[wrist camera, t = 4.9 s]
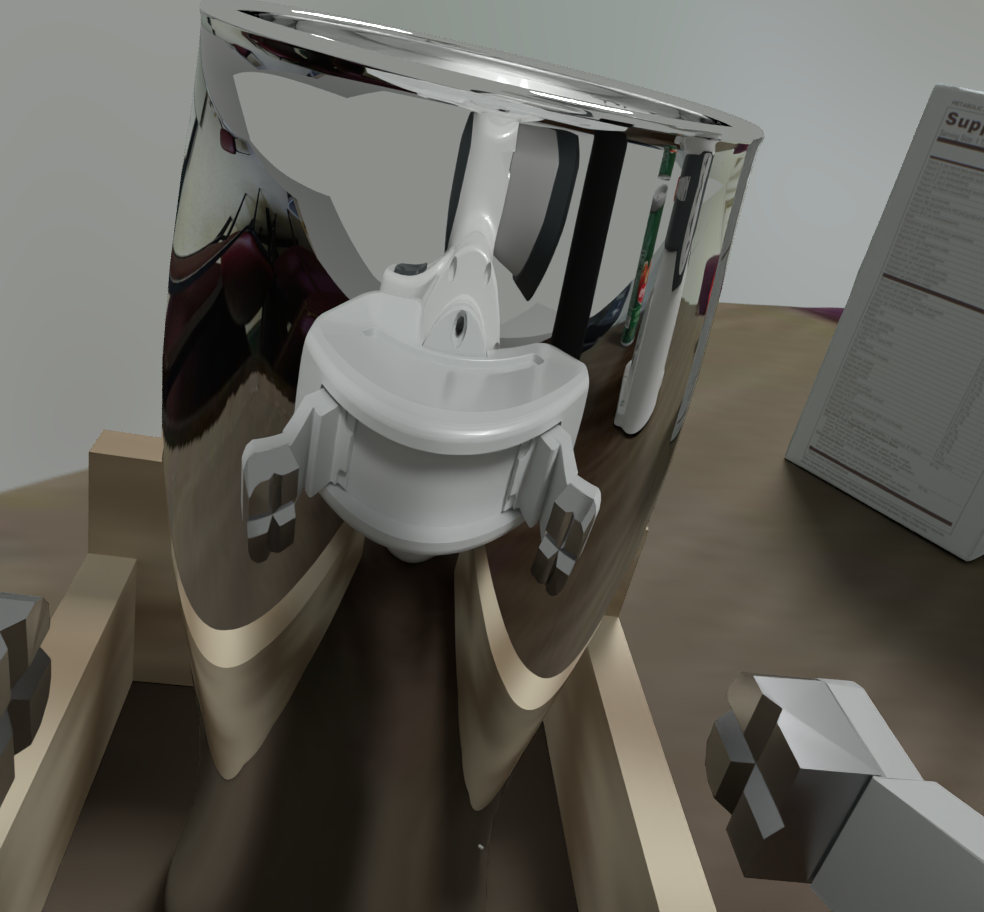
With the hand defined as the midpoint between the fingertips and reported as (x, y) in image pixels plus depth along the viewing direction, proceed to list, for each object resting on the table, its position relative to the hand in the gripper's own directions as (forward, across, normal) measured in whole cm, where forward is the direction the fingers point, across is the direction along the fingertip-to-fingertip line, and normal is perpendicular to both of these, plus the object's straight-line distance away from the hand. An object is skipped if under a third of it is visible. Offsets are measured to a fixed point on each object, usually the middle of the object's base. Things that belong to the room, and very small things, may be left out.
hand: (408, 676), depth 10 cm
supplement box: (+25, -26, +9) cm, 37 cm away
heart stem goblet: (+3, 0, +9) cm, 9 cm away
